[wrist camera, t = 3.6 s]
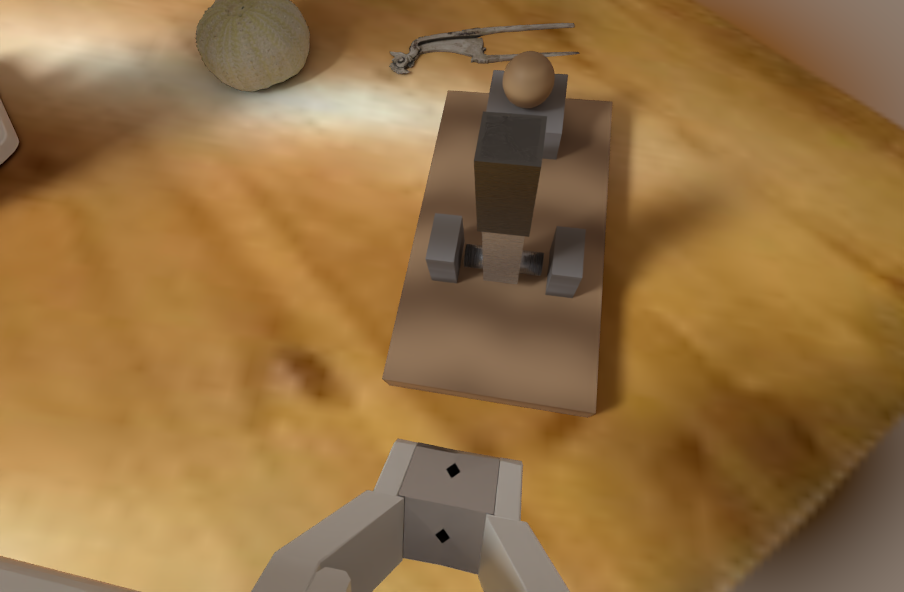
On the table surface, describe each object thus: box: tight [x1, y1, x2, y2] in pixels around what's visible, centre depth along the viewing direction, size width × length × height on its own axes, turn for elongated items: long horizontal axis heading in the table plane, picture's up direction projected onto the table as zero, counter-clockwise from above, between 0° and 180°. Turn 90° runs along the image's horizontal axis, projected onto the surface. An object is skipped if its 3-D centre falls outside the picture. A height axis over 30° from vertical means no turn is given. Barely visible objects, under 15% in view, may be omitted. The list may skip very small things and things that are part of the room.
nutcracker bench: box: [382, 51, 612, 417], centre depth 27 cm, size 22×12×8 cm, turn 170°
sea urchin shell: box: [196, 0, 310, 92], centre depth 37 cm, size 9×8×8 cm
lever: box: [464, 111, 547, 285], centre depth 21 cm, size 2×5×12 cm, turn 80°
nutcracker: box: [389, 23, 579, 74], centre depth 37 cm, size 16×1×5 cm
